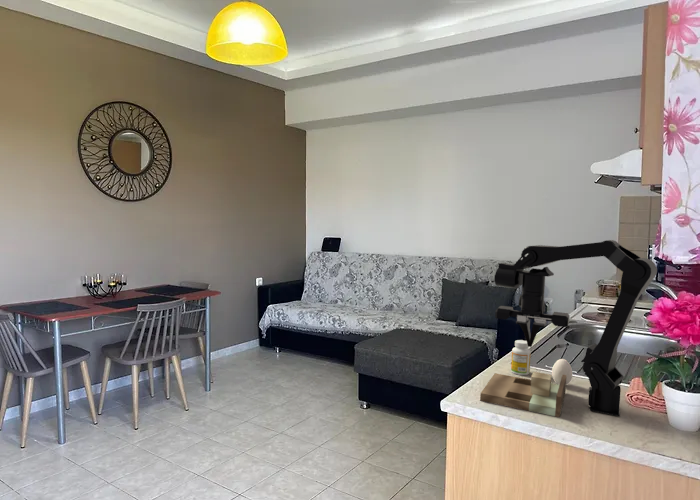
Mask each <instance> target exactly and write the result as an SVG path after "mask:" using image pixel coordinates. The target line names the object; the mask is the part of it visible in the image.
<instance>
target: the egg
mask: <svg viewBox="0 0 700 500" xmlns="http://www.w3.org/2000/svg"><path fill="white" fill-rule="evenodd" d="M551 375H552V377H551V378H552V379H553V381H554V382H555V384H558V385H560V382H561V378H562V375H567V376H566V386H567V385H568V384H569V383H571V382H572V378H573V369H572V366H571V364H570V363H569V361H568V360H566V359H565V358H560V359H557V360H556V361H555V362H554V364H553V366H552V368H551Z"/></svg>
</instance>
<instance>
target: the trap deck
mask: <svg viewBox="0 0 700 500" xmlns="http://www.w3.org/2000/svg"><path fill="white" fill-rule="evenodd" d="M566 376H567V375H562V378H561V382H560V385H558V384H557V383H552V382H551V392H550V395H549V397H547V396H541V395H536V394H531V393H530V392H531V378H523V377H517V376H513V375H506V374H502V373H494V374H493V375H492V376H491V378H490V379H489V380H488V382H486V385H485V386H484V387H483V389H482V390H481V392H480V395H479V397H480V398H479V401H481V402H485V403H490V404H494V405H501V406H505V407H510V408H514V409H518V410H524V411H528V412H533V413H539V414H544V415H547V416H552V417H557V418H560V417H561V414H562V408H563V405H564V400H565V397H566V390H567V389H566V387H567V385H566Z"/></svg>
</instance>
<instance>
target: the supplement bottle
mask: <svg viewBox="0 0 700 500" xmlns="http://www.w3.org/2000/svg"><path fill="white" fill-rule="evenodd" d="M514 346H515V347H513V348H512V349H511V366H510V367H511V368H510V372H511V373H513V374H514V375H517V376H518V375H519V376H528V375H529V374H530V372H531V355H532V354H531V353H532V352H531V349H530V348H529V347H528V344H527V341H526V340H523V339H517V340H515V341H514Z"/></svg>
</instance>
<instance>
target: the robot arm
mask: <svg viewBox="0 0 700 500" xmlns="http://www.w3.org/2000/svg"><path fill="white" fill-rule="evenodd" d="M598 257H600V258H601V257H604V258H606V259H607V260H609V262H610V263H611V264H613V266H615V267H616V268H617V269H618V270H619V271H621V272H622V274H621V280H620V292H619V295H618V297H617V299H616V302H615V304H614V306H613V309H612V311H611V314H610V316H609V318H608V320H607V323H606V325H605V327H604V330H603V333H602V335H601V337H600V339H599V341H598V343H593V344H591V345H589V346H588V347H587V348H586V350H585V355H584V357H583V359H582V360H581V363H582V371H583V373H584V374H585V375H586V377H587V378H588V380H589V384H590V386H589V388H588V399H587V400H588V402H587V403H588V404H587V406H588V407H589V411H591V412H594V413H600V414H606V415H611V416H616V417H620V416H621V412H620V404H621V403H620V402H621V389H622V388H621V384H622V382H623V380H624V378H625V376H624V375H623V374H622V373H621V371H620V370H618V368H617V367H616V362H617V358H618V347H619V344H620V341H621V340H622V338H623V335H624V333H625V330H626V328H627V327H628V324H629V322H630V319H631V317H632V315H633V312H634V311H635V307H636V305H637V304H638V301H639V299H640V297H641V296H642V294H644V292H645V291H646V290H647V288H648V287H649V286H650V284H651V283H652V281H653V280H654V279H655V277H656V275H657V273H658V267H657V265H656V263H654V261H653V260H651V259H649V258H646V257H640V256H639V255H637V253H635V252H633V251H631V250H630V249H628V248H625V247H624V246H622V245H621V244H620V243H619V242H618V241H616V240H614V239H608V240H603V241H600V242H590V243H582V244H573V245H572V244H571V245H563V246H557V245H543V244H537V245H527V246H526V247H524V249H522V251H521V253H520V257H519V258H518V260H517V261H516V262H515V263H514V264H509V263H506V262H499V263H498V268H496V270H495V274H494V277H493V278H494V283H495V285H496V287H500V288H501V287H502V288H503V287H504V288H509V289H510V288H511V289H516V290H517V289H518V288H519V287H520V286H522V288H521V290H522V291H521V294H520V295H519V299H518V306H519V308H520V310H514V307H513V306H509V305H508V306H507V305H500V306H498V308H496V309H495V313H494V318H495V319H498V320H508V319H509V318H510V317H511V318H512V317H513V318H516V321H515V324H516V325H519V326H520V328H521V330H522V332H523V335H524V338H525V341H527V344H528V348H529V347H530V348H532V346H533V344H534V342H535V339H536V336H537V334H538V332H539V330H540V328H545V326H546V325H547V322H551V324H553V326H555V327H562V328H568V327H569V326H570V318H571V317H570V314H568V312H561V311H560V312H558V311H553V313H552V314H551V313H550V314H549V313H545V312H546V310H545V309H546V303H545V290H546V289H545V287H546V277H553V276H554V274H555V273H554V272H553V271H551V269H550V268H549V267H548V266H545V265H548V264H553V263H555V262H558V261H565V260H577V259H588V258H598ZM541 266H545V267H543V268H534V267H541ZM525 269H529V271H528V270H525ZM531 320H533V321H534V322H533V324H532V328H531Z"/></svg>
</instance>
